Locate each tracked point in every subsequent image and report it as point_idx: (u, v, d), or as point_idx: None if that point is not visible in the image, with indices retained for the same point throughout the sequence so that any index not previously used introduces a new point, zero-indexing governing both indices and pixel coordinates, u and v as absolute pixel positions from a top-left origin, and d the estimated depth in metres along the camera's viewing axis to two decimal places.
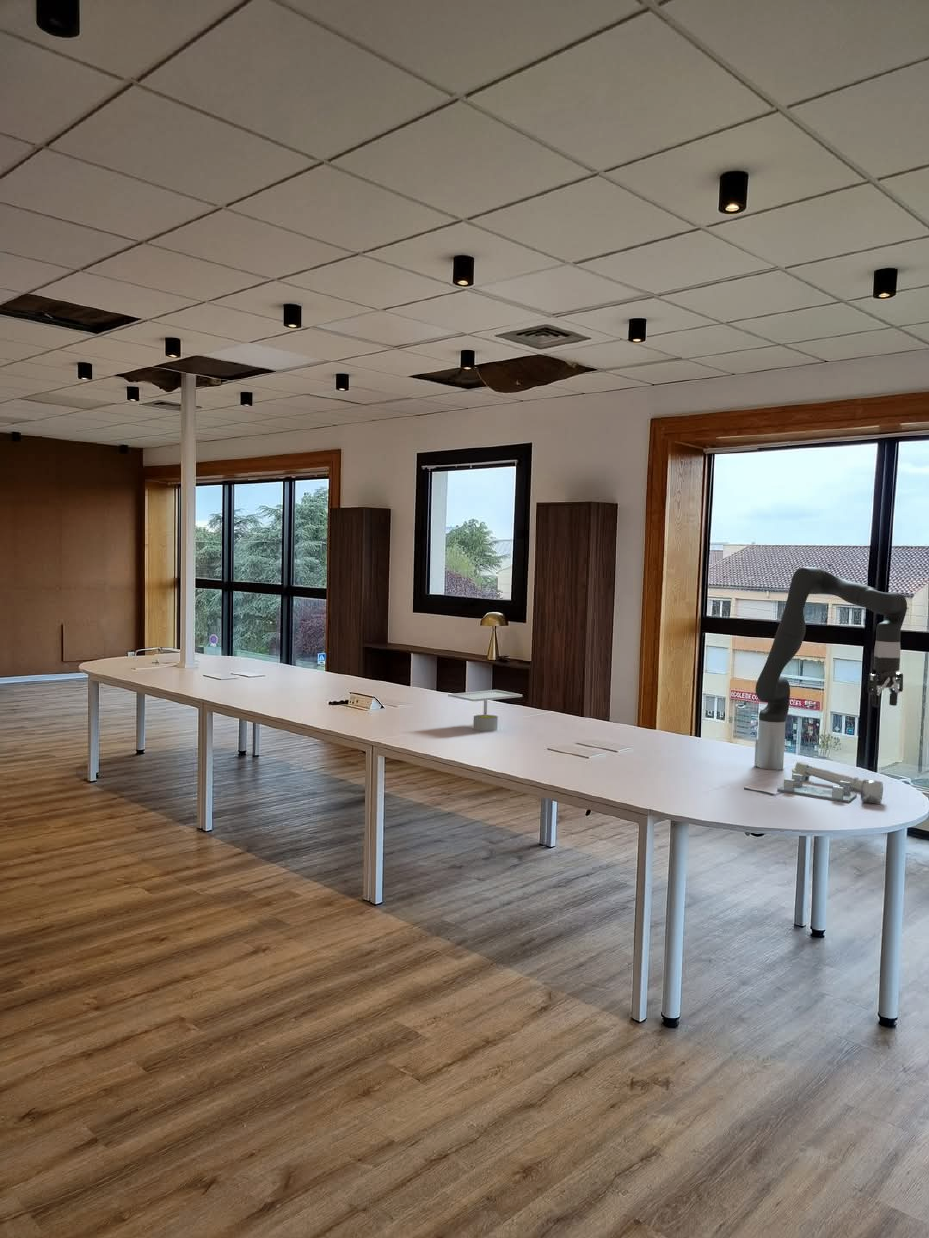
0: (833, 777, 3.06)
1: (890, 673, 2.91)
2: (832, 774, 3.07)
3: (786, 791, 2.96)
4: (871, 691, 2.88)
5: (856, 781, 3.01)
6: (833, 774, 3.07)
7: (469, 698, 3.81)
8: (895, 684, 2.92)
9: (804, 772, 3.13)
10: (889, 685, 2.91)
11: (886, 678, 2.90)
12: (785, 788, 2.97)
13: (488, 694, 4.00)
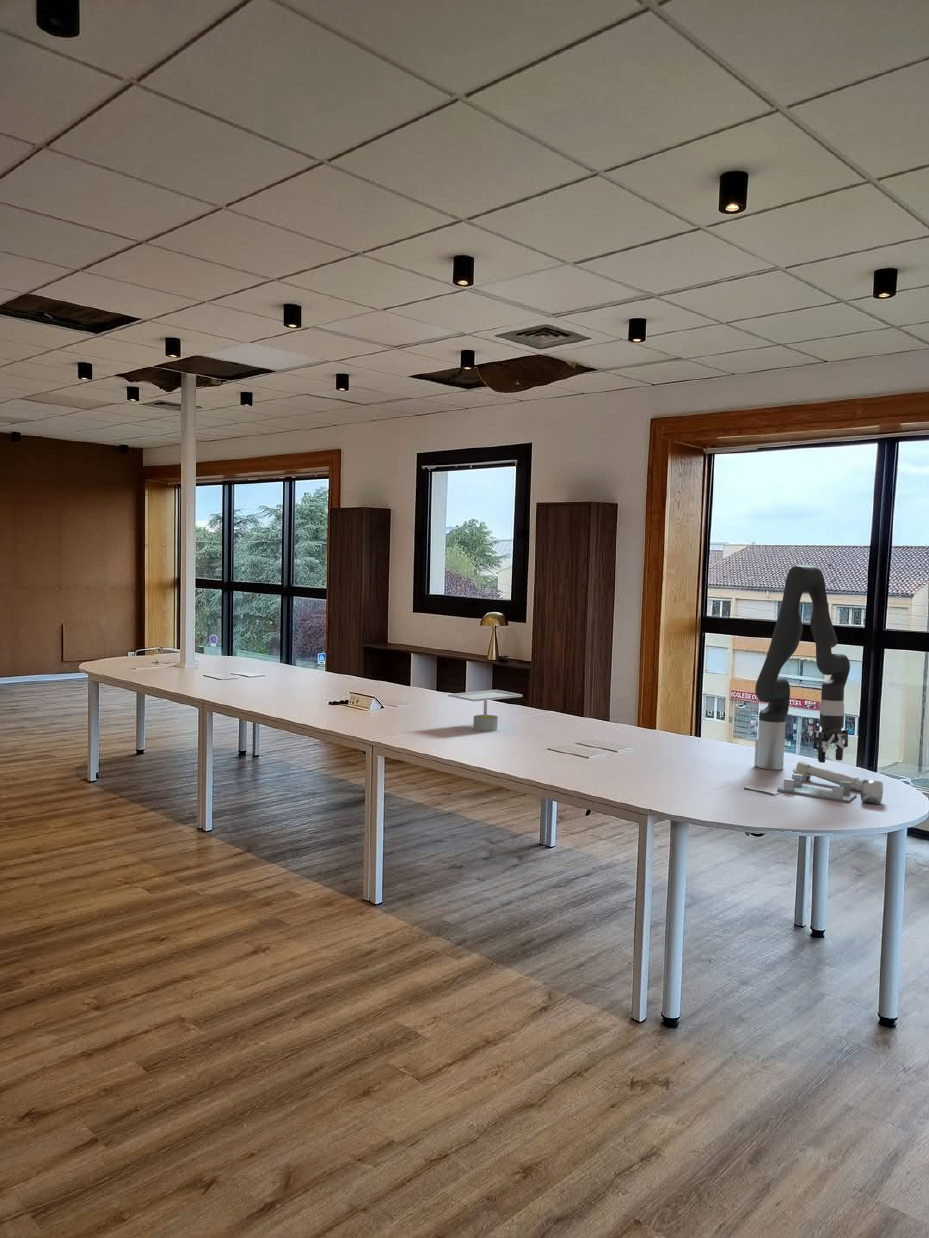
0: (833, 777, 3.06)
1: (835, 730, 3.07)
2: (832, 774, 3.07)
3: (786, 791, 2.96)
4: (817, 747, 3.04)
5: (856, 781, 3.01)
6: (833, 774, 3.07)
7: (469, 698, 3.81)
8: (840, 740, 3.08)
9: (805, 772, 3.14)
10: (834, 741, 3.07)
11: (831, 735, 3.05)
12: (785, 788, 2.97)
13: (488, 694, 4.00)
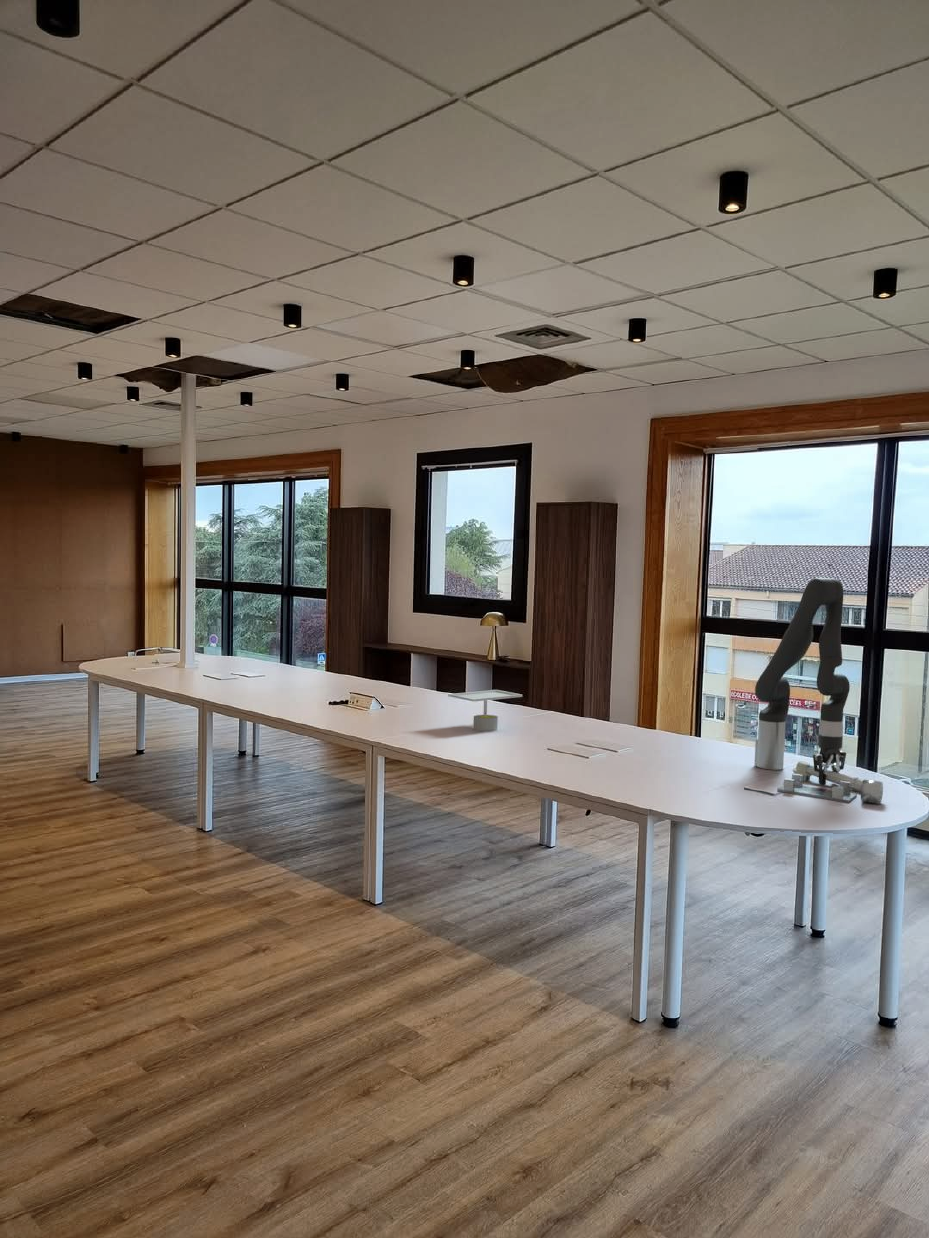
0: (833, 777, 3.06)
1: (834, 751, 3.08)
2: (832, 774, 3.07)
3: (786, 791, 2.96)
4: (818, 770, 3.05)
5: (856, 781, 3.00)
6: (833, 774, 3.06)
7: (469, 698, 3.81)
8: (837, 761, 3.08)
9: (805, 772, 3.14)
10: (832, 761, 3.07)
11: (829, 755, 3.06)
12: (785, 788, 2.97)
13: (488, 694, 4.00)
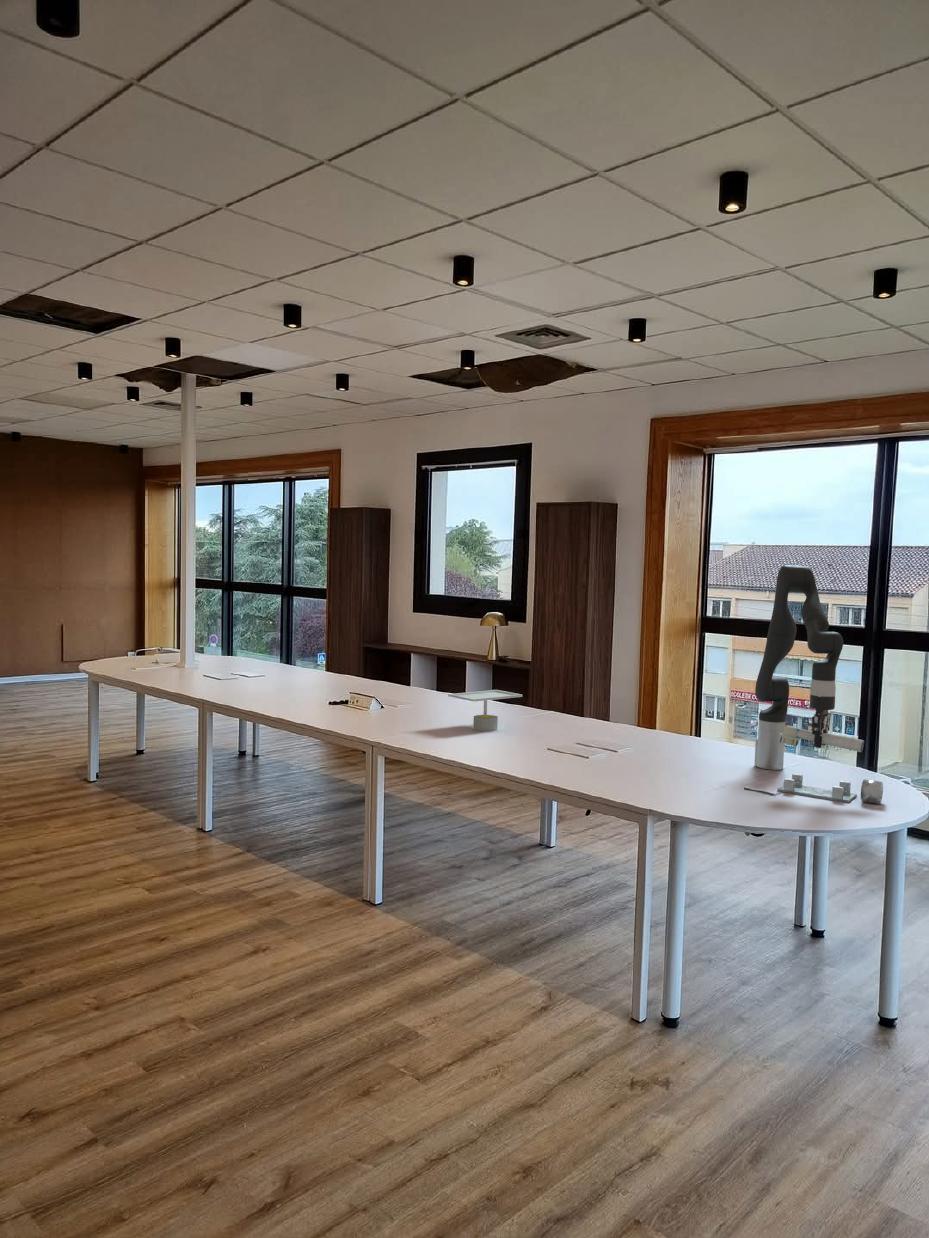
0: (829, 739, 2.92)
1: (826, 711, 2.94)
2: (827, 735, 2.93)
3: (786, 791, 2.96)
4: (817, 732, 2.90)
5: (854, 741, 2.90)
6: (828, 735, 2.93)
7: (469, 698, 3.81)
8: (828, 722, 2.95)
9: (795, 736, 2.97)
10: None
11: (825, 716, 2.92)
12: (785, 788, 2.97)
13: (488, 694, 4.00)
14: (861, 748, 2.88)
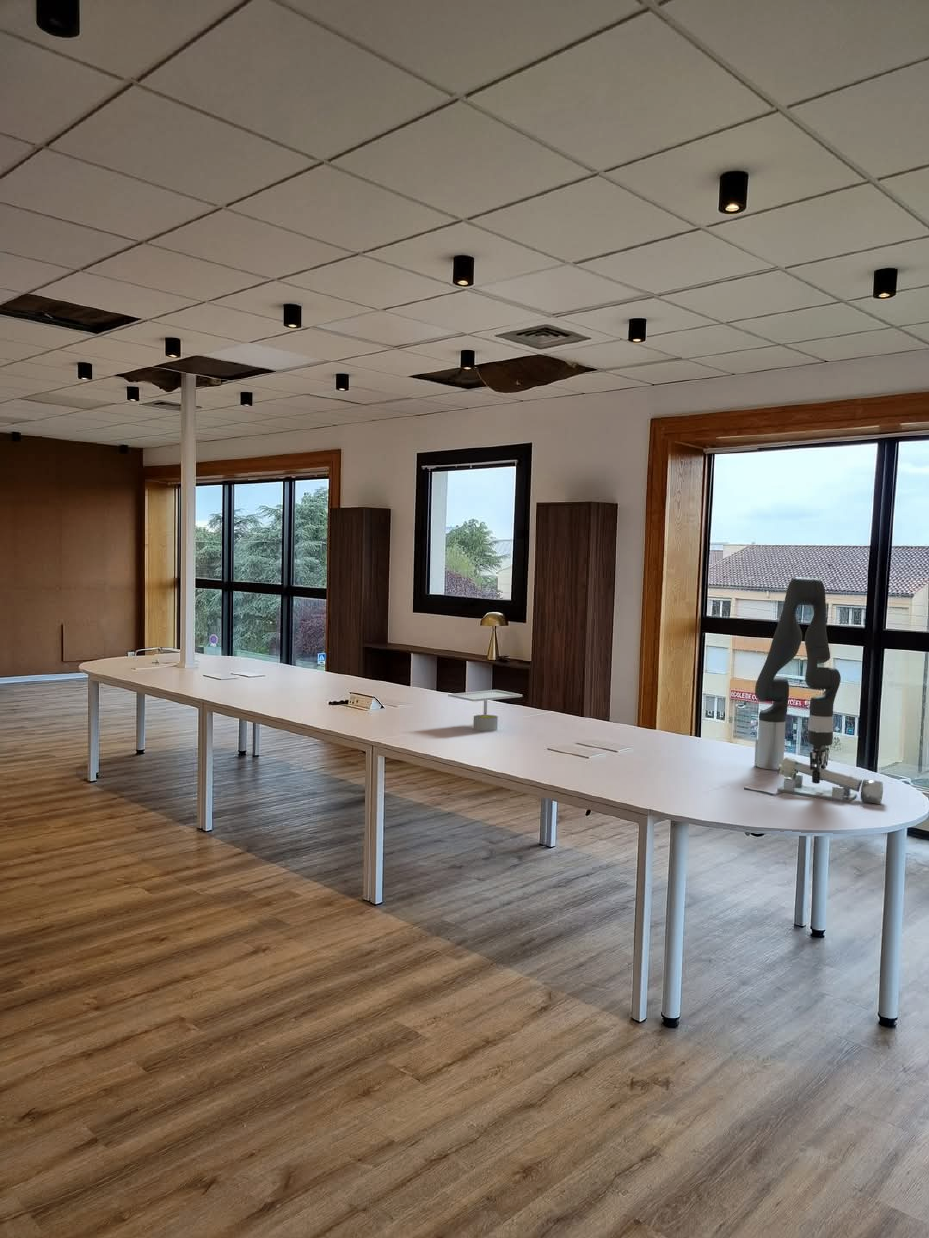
0: (826, 775, 2.93)
1: (823, 747, 2.95)
2: (825, 772, 2.93)
3: (786, 791, 2.96)
4: (815, 768, 2.90)
5: (852, 780, 2.90)
6: (826, 772, 2.93)
7: (469, 698, 3.81)
8: (826, 758, 2.96)
9: (793, 769, 2.97)
10: None
11: (823, 752, 2.92)
12: (785, 788, 2.97)
13: (488, 694, 4.00)
14: (858, 788, 2.88)
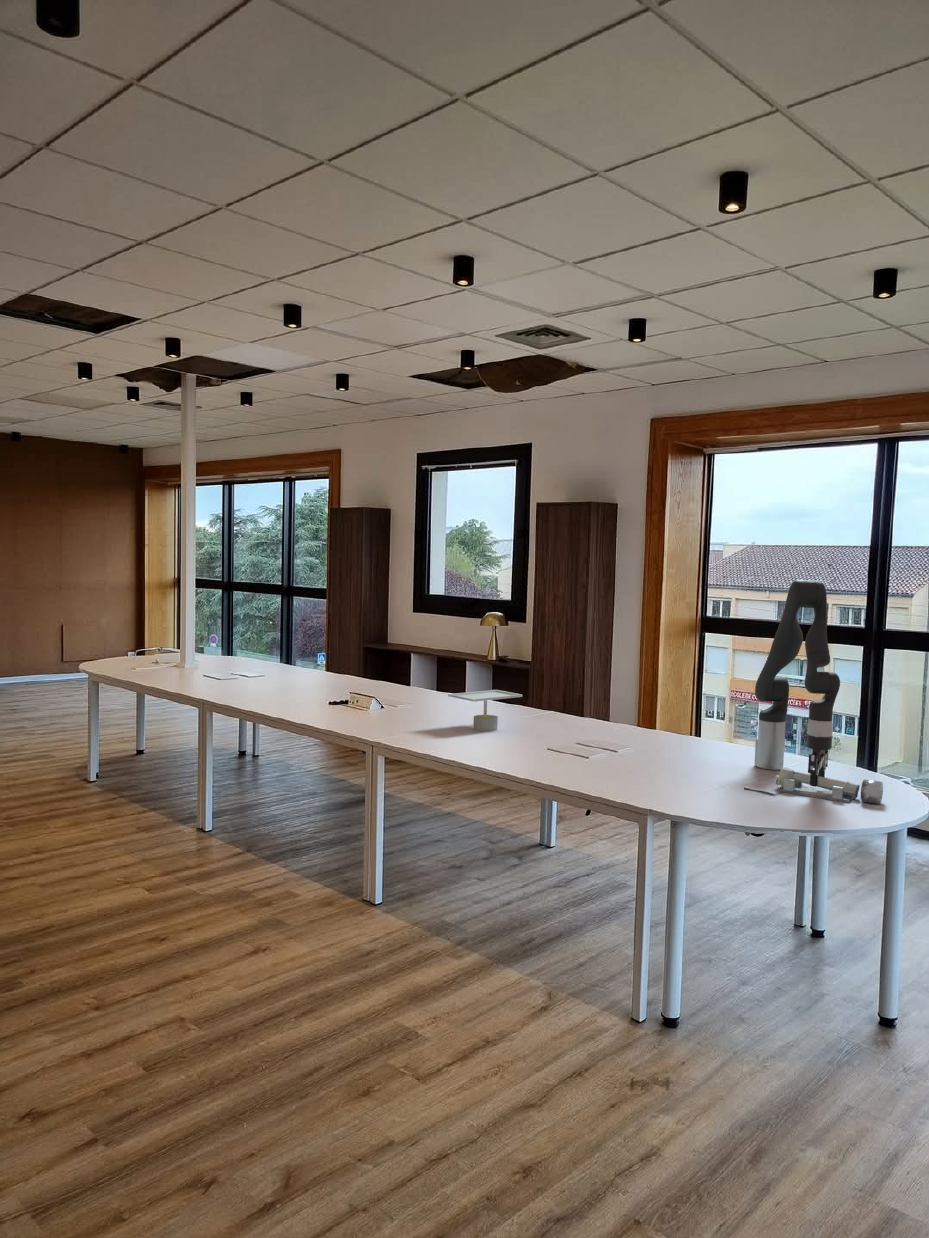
0: (824, 783, 2.94)
1: (822, 751, 2.95)
2: (822, 779, 2.94)
3: (786, 791, 2.96)
4: (812, 771, 2.90)
5: (849, 785, 2.90)
6: (823, 779, 2.94)
7: (469, 698, 3.81)
8: (825, 761, 2.96)
9: (790, 778, 2.99)
10: (822, 762, 2.95)
11: (822, 756, 2.93)
12: (785, 788, 2.97)
13: (488, 694, 4.00)
14: (856, 793, 2.89)
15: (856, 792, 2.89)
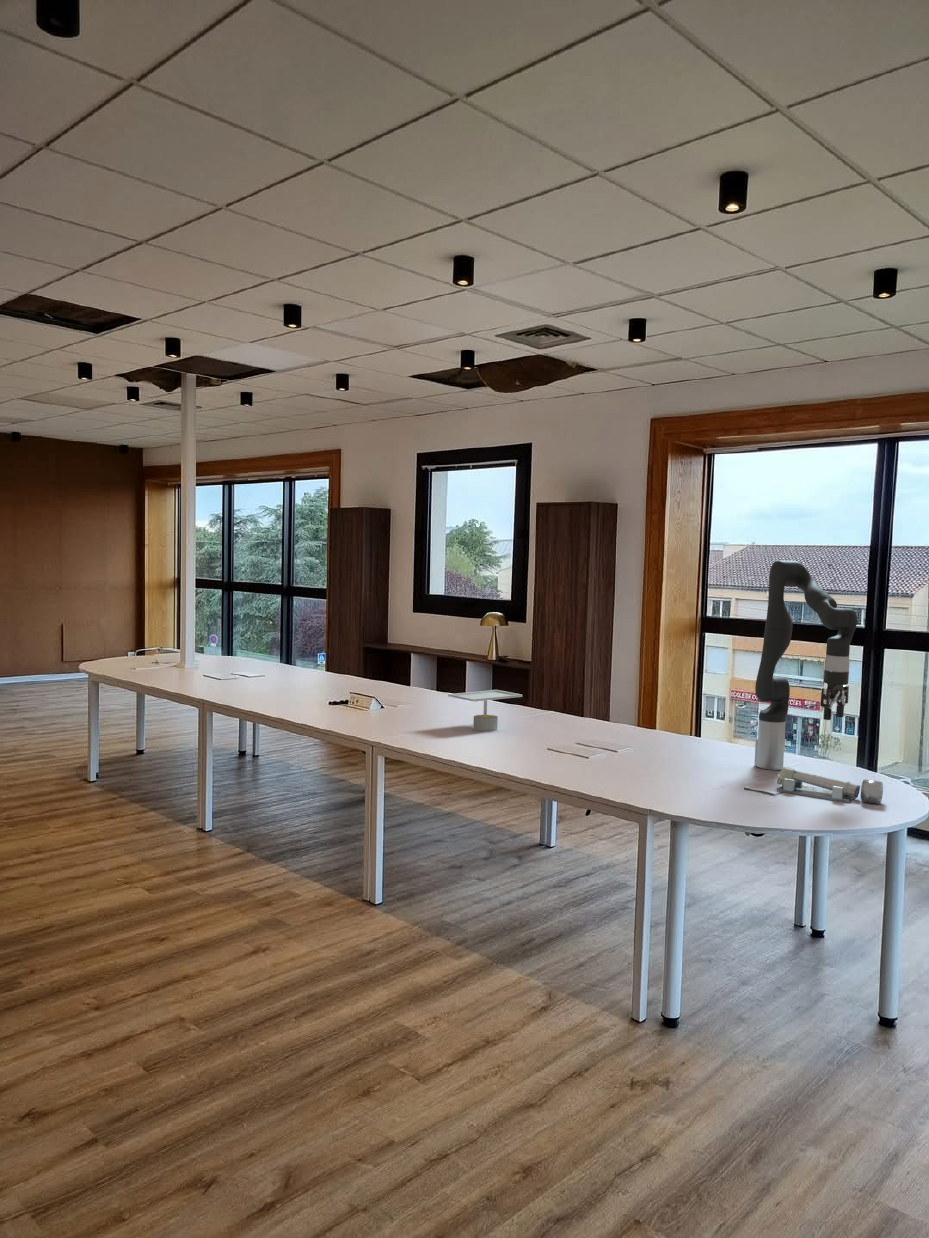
0: (824, 782, 2.94)
1: (839, 687, 2.99)
2: (822, 779, 2.94)
3: (786, 791, 2.96)
4: (824, 705, 2.95)
5: (849, 785, 2.90)
6: (823, 779, 2.94)
7: (469, 698, 3.81)
8: (843, 697, 3.00)
9: (791, 778, 3.00)
10: (838, 698, 2.99)
11: (837, 691, 2.97)
12: (785, 788, 2.97)
13: (488, 694, 4.00)
14: (855, 793, 2.88)
15: (855, 793, 2.88)
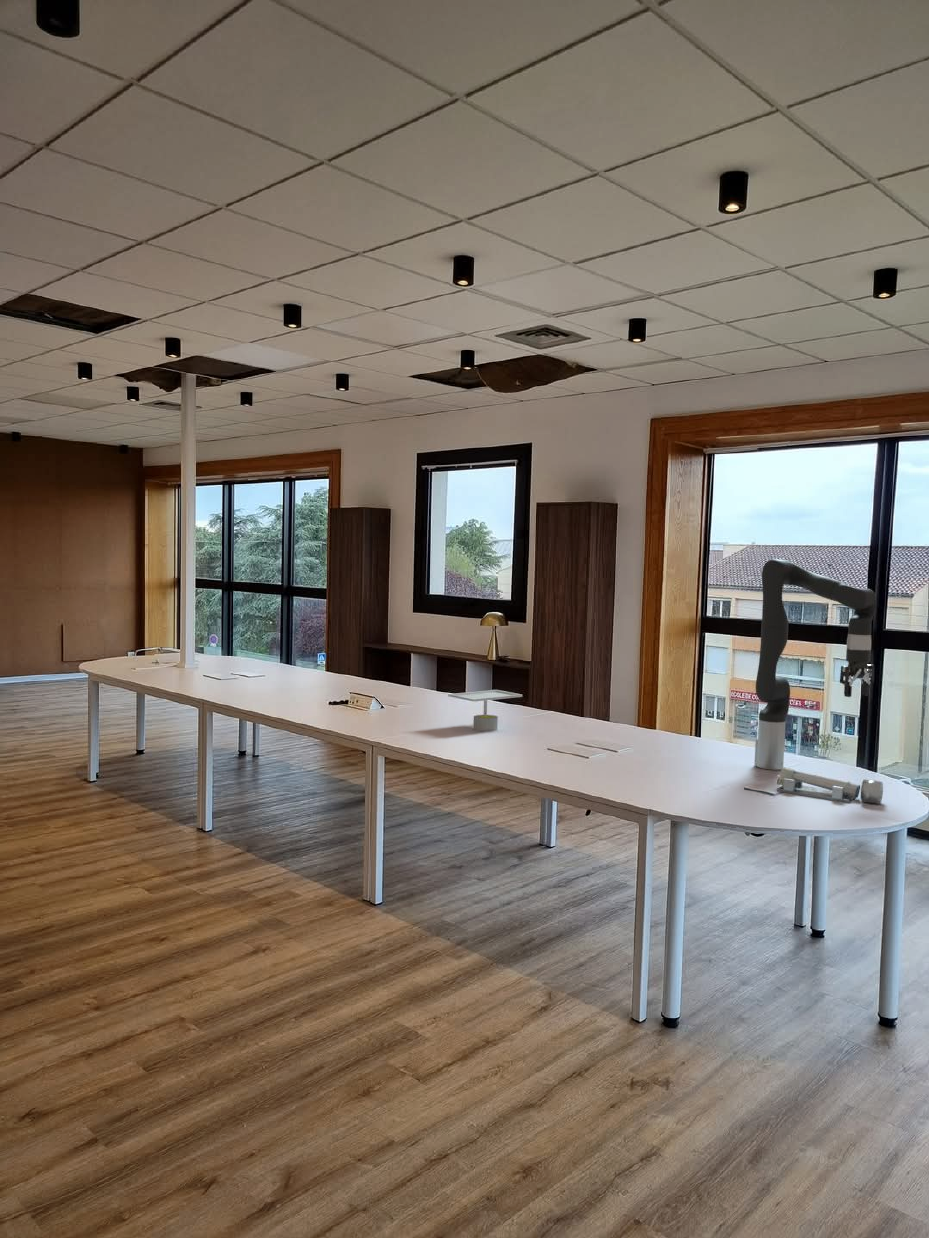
0: (824, 782, 2.94)
1: (862, 665, 3.07)
2: (822, 779, 2.94)
3: (786, 791, 2.96)
4: (843, 681, 3.04)
5: (849, 785, 2.90)
6: (823, 779, 2.94)
7: (469, 698, 3.81)
8: (866, 675, 3.08)
9: (791, 778, 2.99)
10: (861, 676, 3.07)
11: (858, 669, 3.05)
12: (785, 788, 2.97)
13: (488, 694, 4.00)
14: (856, 793, 2.88)
15: (856, 792, 2.88)
